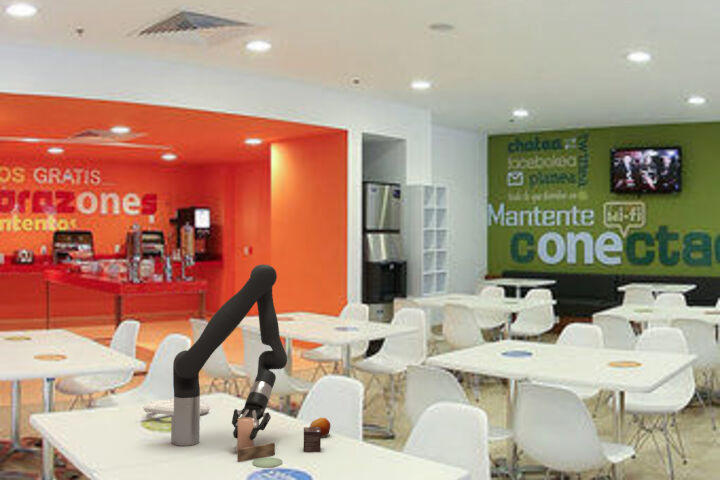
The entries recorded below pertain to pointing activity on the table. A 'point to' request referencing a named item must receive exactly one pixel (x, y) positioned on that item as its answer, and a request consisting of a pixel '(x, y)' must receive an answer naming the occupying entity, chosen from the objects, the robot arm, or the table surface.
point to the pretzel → (169, 407)
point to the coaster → (267, 462)
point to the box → (312, 439)
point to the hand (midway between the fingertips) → (243, 438)
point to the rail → (255, 452)
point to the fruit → (322, 426)
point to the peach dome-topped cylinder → (245, 432)
